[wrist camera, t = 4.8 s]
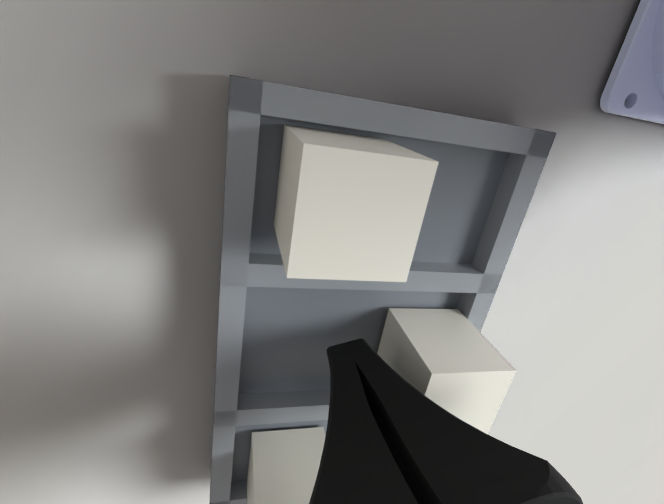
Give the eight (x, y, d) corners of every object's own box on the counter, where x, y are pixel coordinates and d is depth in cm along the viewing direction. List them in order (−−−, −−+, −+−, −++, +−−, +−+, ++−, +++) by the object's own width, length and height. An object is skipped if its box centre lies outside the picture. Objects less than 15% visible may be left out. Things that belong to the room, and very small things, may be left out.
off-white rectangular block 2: (383, 138, 11) (438, 161, 8) (364, 230, 12) (406, 282, 9) (284, 124, 10) (303, 143, 7) (273, 224, 11) (286, 277, 8)
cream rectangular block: (458, 309, 15) (516, 370, 12) (437, 368, 16) (486, 438, 13) (388, 308, 14) (431, 373, 11) (372, 370, 15) (407, 445, 12)
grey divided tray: (514, 125, 13) (556, 132, 12) (405, 451, 20) (421, 487, 18) (231, 75, 11) (230, 75, 9) (211, 470, 17) (209, 515, 16)
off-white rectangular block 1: (323, 427, 16) (344, 511, 13) (313, 474, 17) (330, 562, 14) (251, 432, 15) (255, 524, 12) (246, 481, 16) (248, 577, 13)
